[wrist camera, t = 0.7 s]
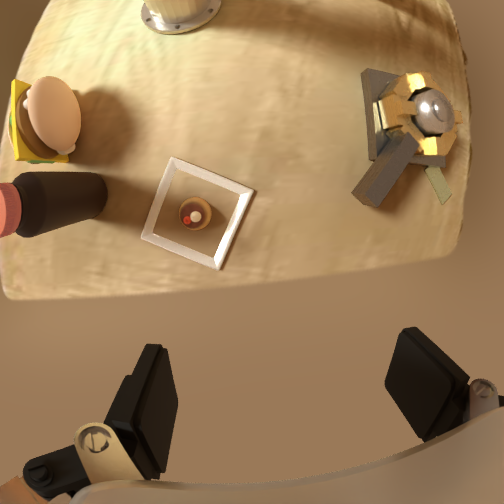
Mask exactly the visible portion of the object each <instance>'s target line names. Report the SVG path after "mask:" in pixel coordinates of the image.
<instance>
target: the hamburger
mask: <svg viewBox="0 0 504 504" xmlns="http://www.w3.org/2000/svg"><path fill="white" fill-rule="evenodd" d="M80 128H81V113H80V108H79V104H78V101H77V99H76V97H75V95H74V93H73V91H72V90H71V88H70V87H69V86H68V85H67V84H66V83H65V82H64V81H62V80H60V79H59V78H56V77H52V76H46V77H42V78H40V79H38V80H37V81H35V82H34V83H33V85H30V84H27V83H25V82H22V81H20V80H17V79H14V80H13V81H12V87H11V110H10V113H9V117H8V135H9V139H10V142H11V145H12V147H13V149H14V154H15V161H26V162H28V163H31V164H39V163H54V162H60V163H66V162H68V161H69V159H68V154H69V153H71V152H72V151H74V150H75V142H76V140H77V138H78V136H79V133H80Z"/></svg>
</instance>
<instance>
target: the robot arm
mask: <svg viewBox="0 0 504 504" xmlns="http://www.w3.org/2000/svg"><path fill="white" fill-rule="evenodd" d="M144 2H145V3H144V4H143V7H142V10H141V17H142V20H143V22H144V24H145V25H146V26H147V27H148V28H149V29H151V30H152V31H155V32H157V33H162V34H177V33H183V32H187V31H190V30H193V29H196V28H198V27H200V26H202V25H204V24H205V23H207V22H208V21H210V20H211V19H212V18H213V17H214V16H215V15H216V14H217V12H218V11H219V9H220V6H221V0H144ZM469 379H470V377H469V376H468V375H467V374H466V373H465V372H464V371H463V370H462V369H461V368H460V367H459V366H458V365H457V364H456V363H455V362H454V361H453V360H452V359H451V358H450V357H448V356H447V355H446V354H445V353H444V352H443V351H442V350H441V349H440V348H439V347H438V346H437V345H436V344H435V343H433V342H432V341H431V340H430V339H429V338H428V337H427V336H426V335H424V333H422V332H421V331H420V330H419V329H418V328H417V327H410V328H405V329H403V330H402V332H401V333H400V334H399V336H398V339H397V343H396V347H395V350H394V353H393V357H392V360H391V363H390V366H389V369H388V372H387V376H386V379H385V387H386V389H387V391H388V392H389V394H390V395H391V397H392V398H393V400H394V401H395V403H396V404H397V405H398V407H399V409H400V410H401V412H402V413H403V415H404V416H405V418H406V419H407V421H408V422H409V424H410V425H411V427H412V428H413V430H414V432H415V433H416V435H417V436H418V437H419V438H422V440H423V441H424V443H423V444H420V445H418V446H415V447H413V448H411V449H408V450H405V451H403V452H400V453H397V454H395V455H392V456H389V457H386V458H383V459H380V460H377V461H374V462H370V463H367V464H363V465H360V466H357V467H352V468H348V469H344V470H340V471H336V472H331V473H326V474H321V475H316V476H311V477H305V478H298V479H290V480H282V481H272V482H260V483H239V484H203V483H184V482H168V481H151V479H158V480H159V479H160V473H165V471H166V466H167V460H168V455H169V449H170V444H171V439H172V433H173V428H174V423H175V418H176V413H177V408H178V398H177V393H176V389H175V384H174V380H173V375H172V370H171V366H170V361H169V356H168V351H167V349H166V348H163V347H162V345H161V344H146V345H145V348H144V349H143V351H142V354H141V356H140V358H139V360H138V362H137V364H136V366H135V368H134V371H133V373H132V375H127V376H125V378H124V380H123V382H122V384H121V386H120V388H119V390H118V392H117V394H116V397H115V399H114V401H113V403H112V405H111V407H110V409H109V412H108V414H107V416H106V419H105V421H104V423H103V424H102V423H89V424H86V425H84V426H82V427H81V428H80V429H78V430H77V432H76V433H75V436H74V445H71V446H68V447H66V448H63V449H60V450H57V451H54V452H51V453H48V454H45V455H42V456H39V457H36V458H33V459H31V460H29V461H28V462H27V463H26V464H25V466H24V468H23V476H22V477H21V478H19V477H18V476H16V477H14V478H13V479H11V480H10V481H8V482H7V483H5V484H3V485H2V486H0V504H504V396H500V395H498V392H497V388H496V387H495V385H494V384H493V383H492V382H490V381H488V380H486V379H475V380H473V381H472V382H471V384H470V385H468V384H467V383H468V381H469ZM436 436H437V437H436Z"/></svg>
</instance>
